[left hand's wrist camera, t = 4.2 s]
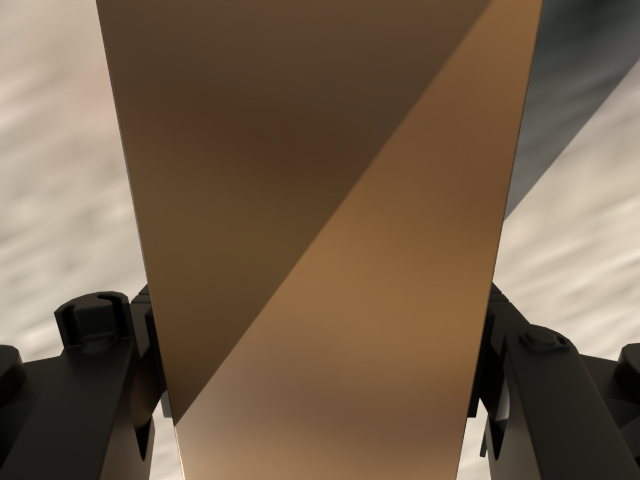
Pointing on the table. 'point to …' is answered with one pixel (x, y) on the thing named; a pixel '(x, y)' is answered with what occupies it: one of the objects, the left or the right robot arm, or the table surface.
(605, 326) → the table surface
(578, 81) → the table surface
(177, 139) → the post
